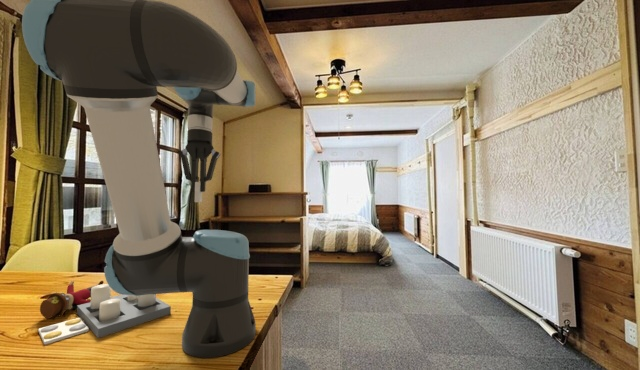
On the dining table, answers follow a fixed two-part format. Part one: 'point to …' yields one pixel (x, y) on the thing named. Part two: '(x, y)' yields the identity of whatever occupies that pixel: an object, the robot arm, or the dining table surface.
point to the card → (62, 330)
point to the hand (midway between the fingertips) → (198, 201)
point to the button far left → (99, 295)
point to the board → (122, 315)
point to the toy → (65, 301)
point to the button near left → (109, 309)
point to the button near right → (146, 300)
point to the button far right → (132, 298)
